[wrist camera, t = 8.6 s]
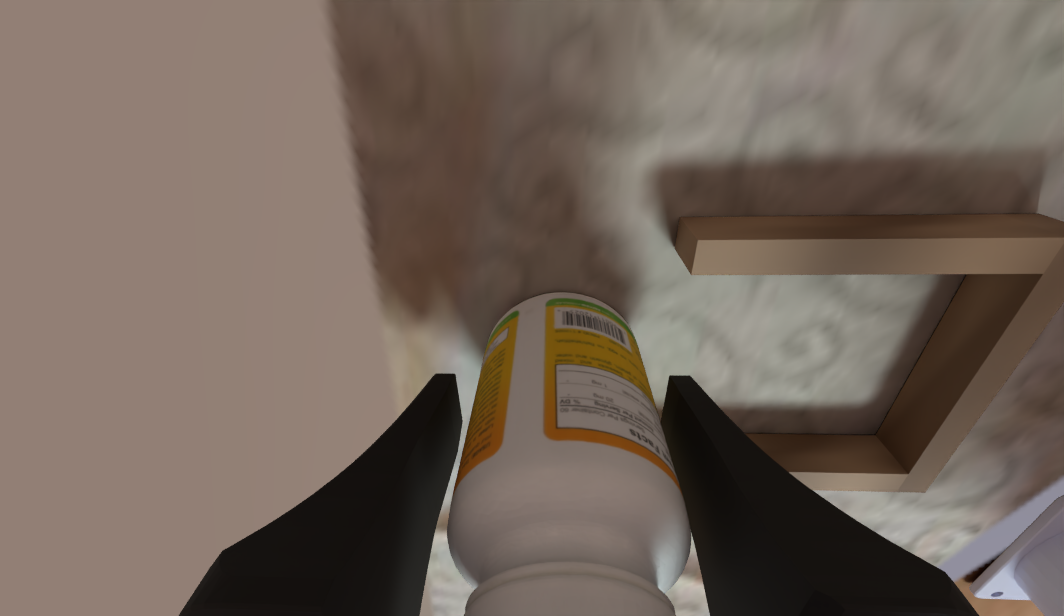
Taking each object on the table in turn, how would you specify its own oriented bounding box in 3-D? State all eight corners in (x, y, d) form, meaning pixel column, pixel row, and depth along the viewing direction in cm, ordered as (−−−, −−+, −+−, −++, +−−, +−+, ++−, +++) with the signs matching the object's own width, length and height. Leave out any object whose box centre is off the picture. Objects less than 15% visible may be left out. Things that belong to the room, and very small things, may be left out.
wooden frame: (1038, 213, 12) (1110, 237, 10) (891, 452, 17) (924, 492, 15) (679, 216, 12) (698, 240, 11) (642, 448, 18) (650, 486, 16)
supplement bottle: (520, 420, 17) (489, 769, 9) (461, 315, 15) (339, 663, 6) (652, 387, 16) (762, 756, 8) (613, 266, 13) (714, 617, 5)
